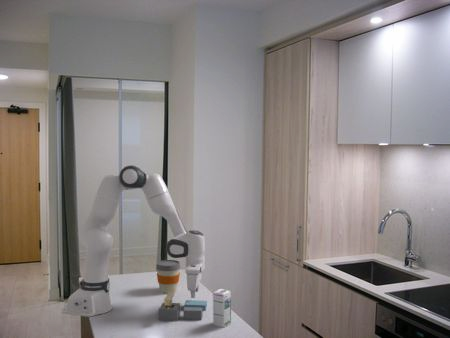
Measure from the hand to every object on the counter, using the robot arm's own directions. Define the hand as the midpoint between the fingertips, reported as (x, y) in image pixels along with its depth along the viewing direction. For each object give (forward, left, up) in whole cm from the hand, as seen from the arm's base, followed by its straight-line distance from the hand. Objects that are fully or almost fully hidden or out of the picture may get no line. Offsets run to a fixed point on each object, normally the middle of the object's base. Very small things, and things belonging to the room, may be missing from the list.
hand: (194, 294), depth 214 cm
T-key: (-10, -11, -7) cm, 16 cm away
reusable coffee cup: (-18, +25, -7) cm, 31 cm away
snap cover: (0, +1, -7) cm, 7 cm away
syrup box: (+14, -17, -7) cm, 23 cm away
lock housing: (-5, -11, -7) cm, 14 cm away
